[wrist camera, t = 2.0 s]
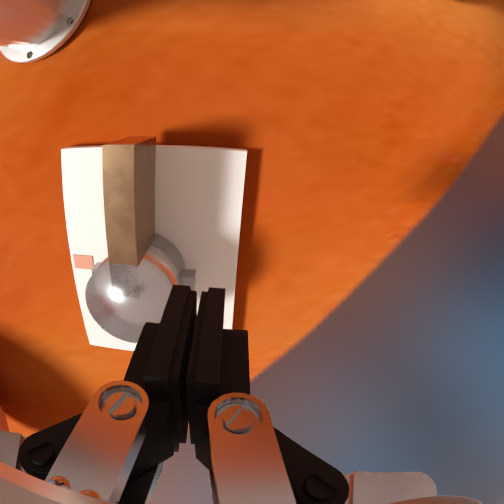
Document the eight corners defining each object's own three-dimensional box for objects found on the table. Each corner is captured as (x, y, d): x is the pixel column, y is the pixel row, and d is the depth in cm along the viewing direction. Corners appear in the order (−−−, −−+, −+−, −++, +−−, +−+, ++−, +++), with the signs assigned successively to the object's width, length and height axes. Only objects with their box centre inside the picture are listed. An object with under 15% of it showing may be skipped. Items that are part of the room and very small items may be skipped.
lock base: (68, 146, 26) (60, 149, 25) (246, 149, 28) (247, 151, 26) (93, 337, 37) (89, 345, 35) (229, 351, 38) (229, 360, 36)
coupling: (196, 305, 33) (188, 348, 27) (106, 297, 32) (84, 335, 26) (202, 137, 25) (191, 145, 19) (93, 137, 25) (56, 147, 19)
